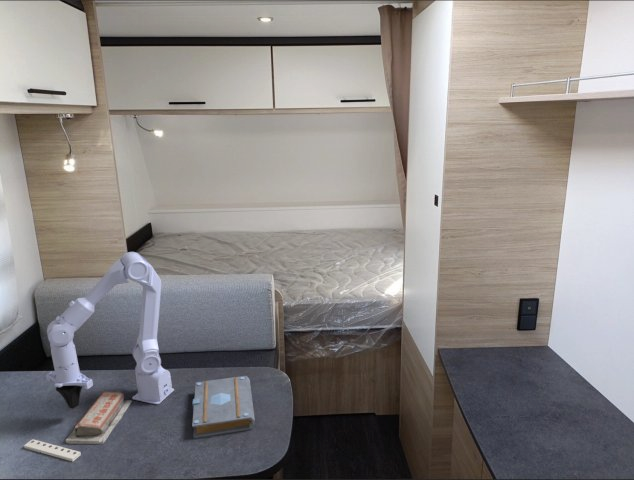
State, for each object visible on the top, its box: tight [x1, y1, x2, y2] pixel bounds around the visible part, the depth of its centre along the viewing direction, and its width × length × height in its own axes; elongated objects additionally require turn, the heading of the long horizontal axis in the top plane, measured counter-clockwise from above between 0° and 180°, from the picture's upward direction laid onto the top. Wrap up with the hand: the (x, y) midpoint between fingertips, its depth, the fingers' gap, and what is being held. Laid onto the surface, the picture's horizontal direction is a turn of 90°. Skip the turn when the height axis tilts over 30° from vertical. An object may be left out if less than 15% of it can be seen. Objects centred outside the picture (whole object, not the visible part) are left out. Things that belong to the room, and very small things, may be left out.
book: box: [191, 375, 256, 439], centre depth 131 cm, size 21×16×5 cm
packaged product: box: [65, 391, 133, 445], centre depth 127 cm, size 18×5×10 cm
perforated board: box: [23, 439, 82, 462], centre depth 116 cm, size 16×2×1 cm, turn 71°
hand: (74, 406), depth 128 cm, fingers closed
